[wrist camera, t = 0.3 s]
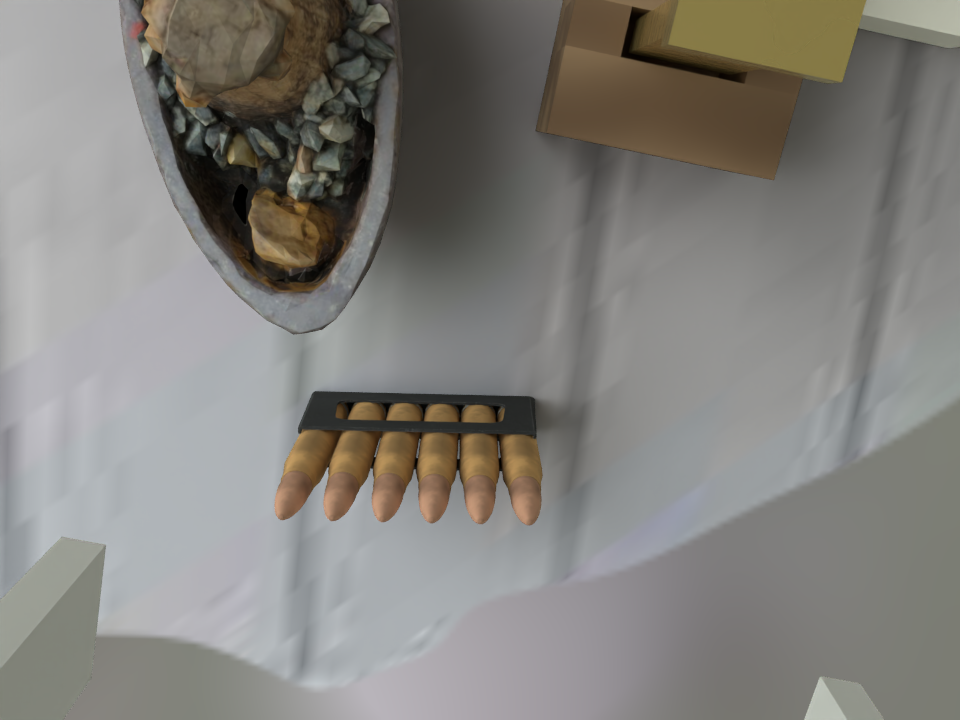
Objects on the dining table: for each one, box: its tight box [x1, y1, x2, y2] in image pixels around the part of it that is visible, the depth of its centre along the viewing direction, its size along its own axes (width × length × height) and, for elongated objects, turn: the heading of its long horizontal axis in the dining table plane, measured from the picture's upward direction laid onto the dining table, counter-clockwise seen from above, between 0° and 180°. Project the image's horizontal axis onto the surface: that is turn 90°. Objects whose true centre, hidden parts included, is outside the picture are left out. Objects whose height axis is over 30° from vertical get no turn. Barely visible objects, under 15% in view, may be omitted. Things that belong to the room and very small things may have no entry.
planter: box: [119, 0, 403, 334], centre depth 29 cm, size 15×17×20 cm
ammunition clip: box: [275, 391, 543, 525], centre depth 37 cm, size 11×2×12 cm, turn 88°
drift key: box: [628, 0, 866, 84], centre depth 29 cm, size 2×5×10 cm, turn 79°
